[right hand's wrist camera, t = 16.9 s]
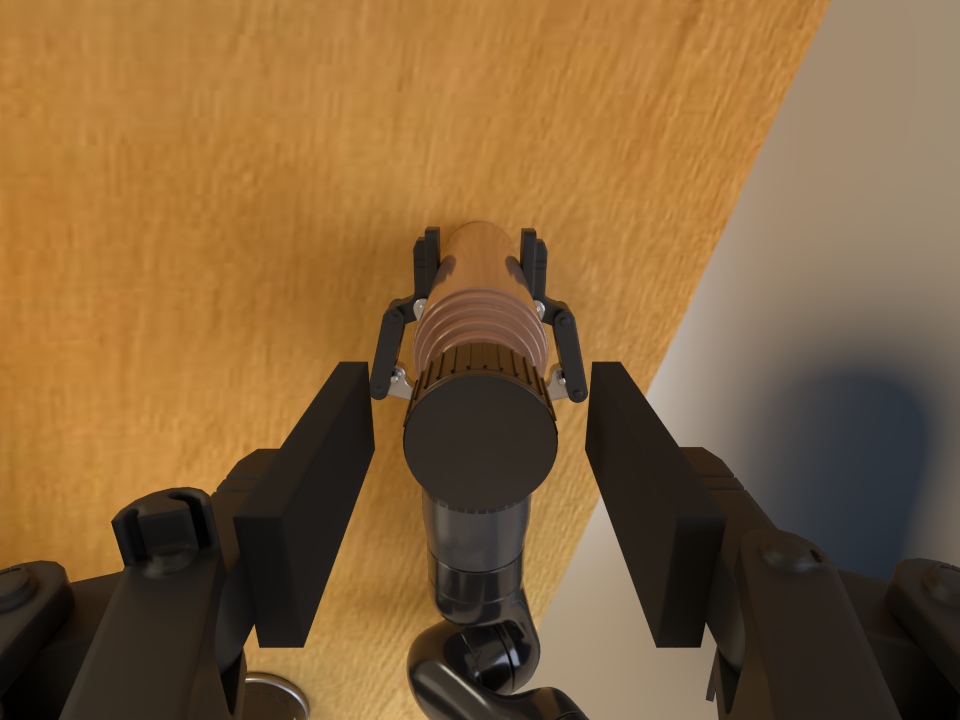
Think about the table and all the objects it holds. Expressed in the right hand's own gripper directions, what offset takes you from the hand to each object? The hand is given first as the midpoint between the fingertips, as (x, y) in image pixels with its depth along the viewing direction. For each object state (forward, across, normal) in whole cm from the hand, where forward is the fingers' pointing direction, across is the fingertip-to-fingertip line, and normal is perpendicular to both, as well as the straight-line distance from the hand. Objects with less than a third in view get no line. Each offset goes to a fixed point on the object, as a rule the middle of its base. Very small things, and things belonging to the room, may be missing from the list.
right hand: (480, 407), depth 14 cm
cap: (-2, 0, 0) cm, 2 cm away
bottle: (+24, 0, 0) cm, 24 cm away
